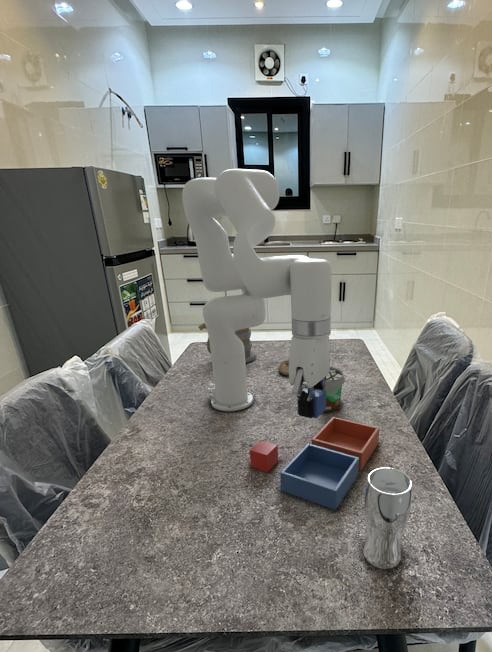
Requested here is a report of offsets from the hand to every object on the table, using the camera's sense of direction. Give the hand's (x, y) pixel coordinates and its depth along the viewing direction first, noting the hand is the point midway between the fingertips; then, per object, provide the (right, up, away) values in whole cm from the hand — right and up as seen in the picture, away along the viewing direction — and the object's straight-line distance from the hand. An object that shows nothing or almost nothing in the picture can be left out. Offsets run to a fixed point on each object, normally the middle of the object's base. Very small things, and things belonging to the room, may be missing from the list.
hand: (311, 410), depth 81 cm
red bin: (+9, -10, +11) cm, 17 cm away
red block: (-10, -13, +6) cm, 18 cm away
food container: (+8, -1, +33) cm, 34 cm away
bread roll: (-4, +10, +58) cm, 60 cm away
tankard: (-30, +15, +71) cm, 78 cm away
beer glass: (+11, -23, -17) cm, 31 cm away
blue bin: (+2, -15, 0) cm, 15 cm away
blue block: (0, 0, 0) cm, 0 cm away
